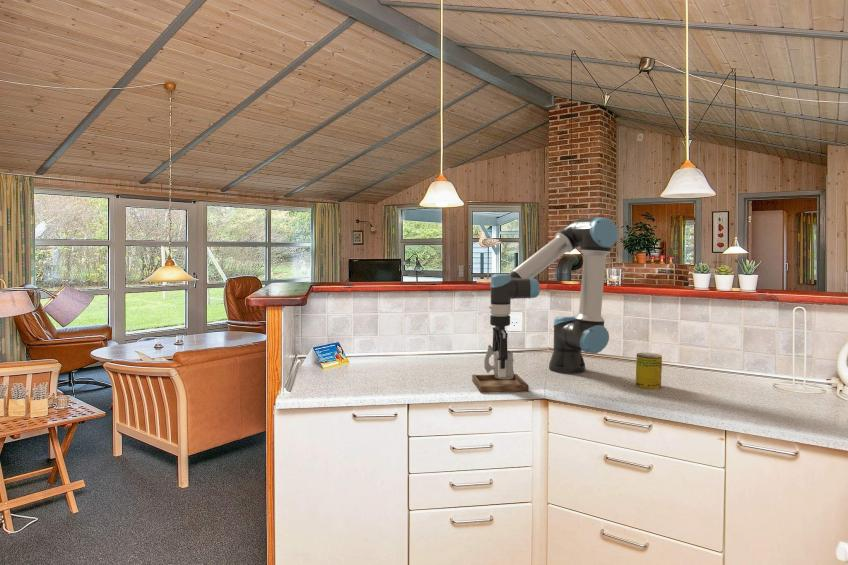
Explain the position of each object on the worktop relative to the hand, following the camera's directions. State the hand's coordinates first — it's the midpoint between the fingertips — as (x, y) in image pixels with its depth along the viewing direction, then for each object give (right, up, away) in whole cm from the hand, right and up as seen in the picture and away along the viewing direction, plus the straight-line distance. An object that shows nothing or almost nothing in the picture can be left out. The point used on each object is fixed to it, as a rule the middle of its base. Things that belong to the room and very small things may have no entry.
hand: (499, 373), depth 212 cm
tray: (0, -5, 0) cm, 5 cm away
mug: (0, -1, +1) cm, 2 cm away
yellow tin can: (+57, -5, +1) cm, 58 cm away
